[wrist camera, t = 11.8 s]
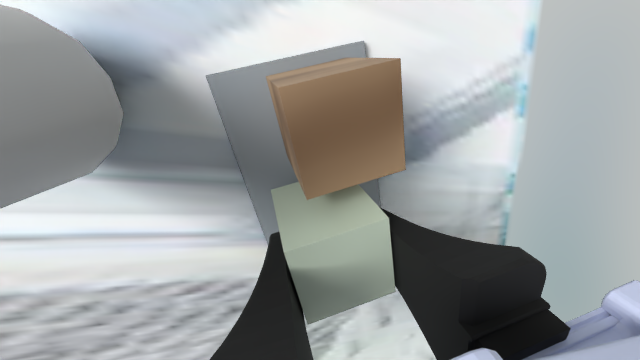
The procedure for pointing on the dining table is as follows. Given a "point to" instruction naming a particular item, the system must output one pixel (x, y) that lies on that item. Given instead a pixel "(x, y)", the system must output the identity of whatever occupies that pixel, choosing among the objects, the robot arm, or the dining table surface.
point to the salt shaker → (50, 108)
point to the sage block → (334, 248)
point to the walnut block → (341, 122)
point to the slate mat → (267, 126)
